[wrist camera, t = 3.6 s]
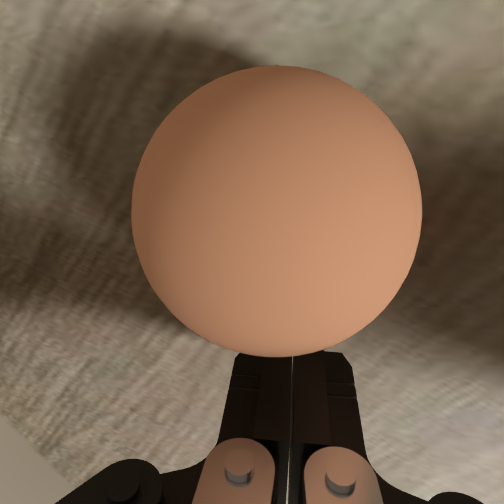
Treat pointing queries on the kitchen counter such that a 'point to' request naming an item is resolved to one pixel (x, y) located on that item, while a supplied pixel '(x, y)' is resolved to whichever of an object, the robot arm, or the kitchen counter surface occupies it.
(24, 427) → the kitchen counter surface
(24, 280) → the kitchen counter surface
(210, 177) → the orange sphere
